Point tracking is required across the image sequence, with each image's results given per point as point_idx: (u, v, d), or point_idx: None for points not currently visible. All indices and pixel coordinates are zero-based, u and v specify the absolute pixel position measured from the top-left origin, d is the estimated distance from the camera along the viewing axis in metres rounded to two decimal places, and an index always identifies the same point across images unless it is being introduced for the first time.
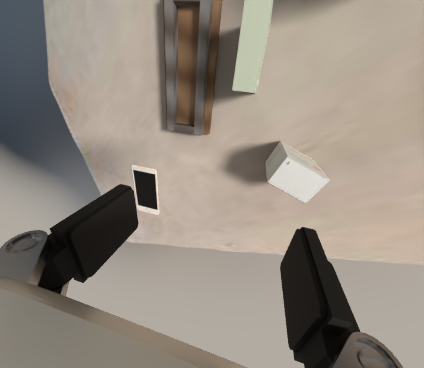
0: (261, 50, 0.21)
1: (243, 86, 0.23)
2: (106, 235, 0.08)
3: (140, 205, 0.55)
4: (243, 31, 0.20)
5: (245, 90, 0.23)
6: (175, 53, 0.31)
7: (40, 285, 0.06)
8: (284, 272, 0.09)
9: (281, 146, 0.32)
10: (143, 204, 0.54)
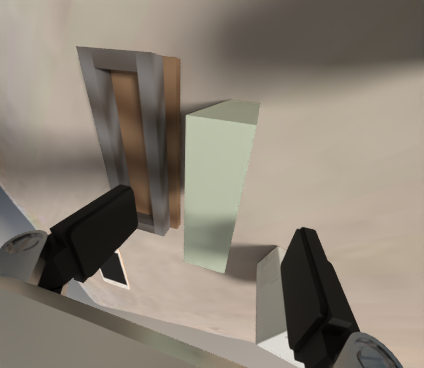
0: (232, 225, 0.10)
1: (202, 261, 0.12)
2: (106, 235, 0.08)
3: (106, 278, 0.44)
4: (191, 191, 0.09)
5: (207, 267, 0.12)
6: (115, 135, 0.20)
7: (40, 285, 0.06)
8: (284, 272, 0.09)
9: (278, 269, 0.22)
10: (110, 278, 0.44)
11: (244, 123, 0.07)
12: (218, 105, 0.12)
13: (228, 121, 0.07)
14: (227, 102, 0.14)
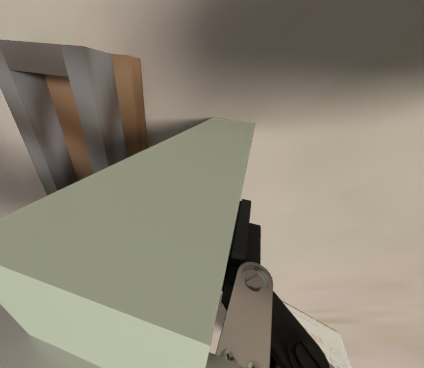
0: None
1: None
2: None
3: None
4: None
5: None
6: (59, 162, 0.15)
7: None
8: None
9: None
10: None
11: (159, 312, 0.02)
12: (175, 139, 0.06)
13: (93, 294, 0.02)
14: (202, 126, 0.09)
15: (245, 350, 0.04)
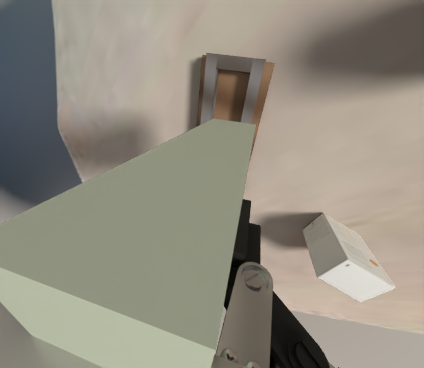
0: None
1: None
2: None
3: None
4: None
5: None
6: (211, 119, 0.27)
7: None
8: None
9: (329, 227, 0.28)
10: None
11: (164, 317, 0.02)
12: (176, 141, 0.06)
13: (98, 298, 0.02)
14: (203, 127, 0.09)
15: (246, 350, 0.04)
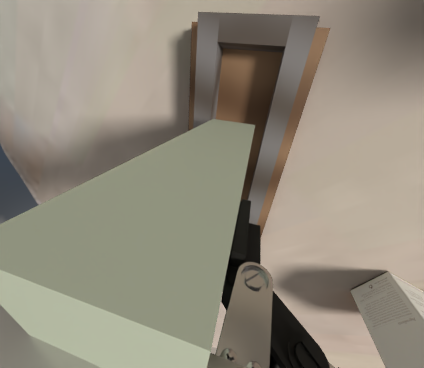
0: None
1: None
2: None
3: None
4: None
5: None
6: None
7: None
8: None
9: (410, 306, 0.17)
10: None
11: (160, 318, 0.02)
12: (175, 141, 0.06)
13: (95, 300, 0.02)
14: (202, 128, 0.09)
15: (245, 350, 0.04)
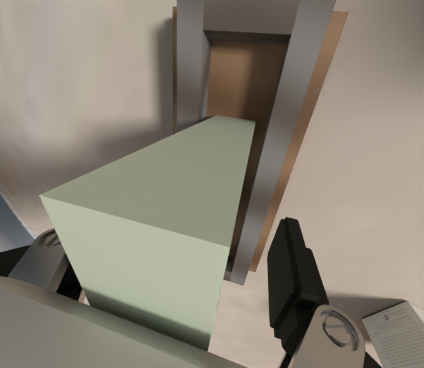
0: None
1: None
2: None
3: None
4: None
5: None
6: None
7: (65, 279, 0.07)
8: (270, 260, 0.09)
9: None
10: None
11: (195, 232, 0.02)
12: (185, 132, 0.07)
13: (149, 223, 0.02)
14: (207, 122, 0.10)
15: None
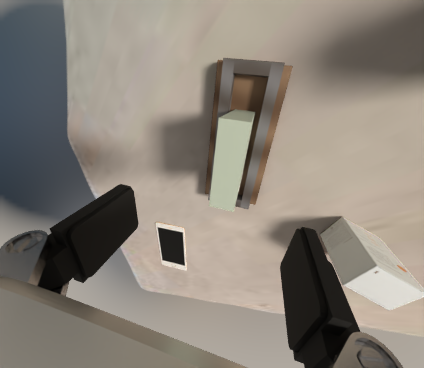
0: (239, 177, 0.18)
1: (220, 204, 0.20)
2: (106, 235, 0.08)
3: (165, 260, 0.49)
4: (217, 158, 0.17)
5: (223, 208, 0.20)
6: None
7: (40, 285, 0.06)
8: (284, 272, 0.09)
9: (351, 231, 0.27)
10: (168, 259, 0.49)
11: (246, 121, 0.15)
12: (230, 113, 0.20)
13: (238, 120, 0.15)
14: (234, 111, 0.23)
15: None
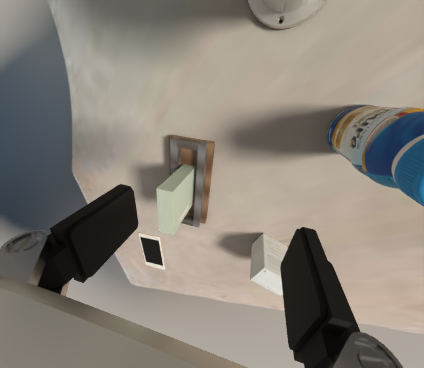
0: (172, 217, 0.31)
1: (165, 231, 0.33)
2: (106, 235, 0.08)
3: (148, 262, 0.63)
4: (159, 207, 0.31)
5: (167, 233, 0.34)
6: None
7: (40, 285, 0.06)
8: (284, 272, 0.09)
9: (262, 244, 0.41)
10: (150, 261, 0.62)
11: (170, 191, 0.29)
12: (171, 176, 0.34)
13: (166, 190, 0.29)
14: (178, 170, 0.36)
15: None
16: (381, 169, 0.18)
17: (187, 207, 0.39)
